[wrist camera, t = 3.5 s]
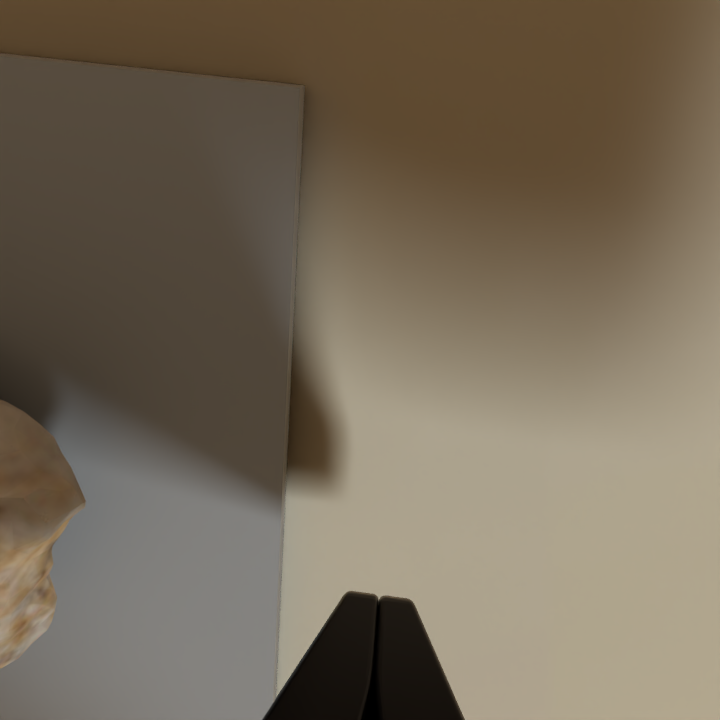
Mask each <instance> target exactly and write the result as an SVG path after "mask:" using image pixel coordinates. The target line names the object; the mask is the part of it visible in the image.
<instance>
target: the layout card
mask: <svg viewBox="0 0 720 720" xmlns="http://www.w3.org/2000/svg"><path fill="white" fill-rule="evenodd" d="M304 92H305V85H297V84H287V83H278V82H268V81H259V80H250V79H240V78H231V77H221V76H212V75H202V74H193V73H183V72H174V71H165V70H155V69H146V68H136V67H127V66H117V65H108V64H98V63H89V62H79V61H70V60H61V59H51V58H42V57H32V56H23V55H13V54H4V53H0V400H3V401H6V402H8V403H10V404H11V405H13V406H15V407H17V408H18V409H20V410H22V411H24V412H25V413H27V414H28V415H29V416H30V417H32V418H33V419H34V420H35V421H37V422H38V423H39V424H40V425H42V426H43V427H44V428H45V429H46V430H47V431H48V432H49V433H50V434H51V435H52V436H53V437H54V438H55V440H56V442H57V444H58V446H59V448H60V450H61V452H62V454H63V455H64V457H65V458H66V460H67V461H68V463H69V465H70V466H71V468H72V470H73V473H74V475H75V477H76V479H77V482H78V484H79V486H80V489H81V491H82V493H83V495H84V498H85V500H86V504H85V508H84V509H82V510H81V511H79V512H78V513H77V514H75V515H74V516H73V517H72V518H71V519H70V520H69V522H68V524H67V526H66V528H65V530H64V531H63V533H62V534H61V535H60V537H59V538H58V539H57V541H56V542H55V543H54V545H53V547H52V557H53V566H52V569H51V571H50V573H49V574H50V577H51V580H52V583H53V586H54V589H55V592H56V595H57V602H56V607H55V612H54V615H53V619H52V622H51V624H50V626H49V628H48V629H47V631H45V632H44V633H43V634H42V635H41V636H40V637H39V638H38V639H37V640H35V641H34V642H33V643H32V644H31V645H30V646H29V647H28V648H27V650H26V651H25V652H24V653H23V654H22V655H21V656H20V657H19V658H18V659H17V660H15V661H13V662H11V663H10V664H8V665H6V666H4V667H3V668H1V669H0V720H262V719H263V717H264V716H265V714H266V713H267V711H268V710H269V708H270V707H271V705H272V704H273V702H274V701H275V699H276V684H277V663H278V642H279V621H280V600H281V578H282V557H283V536H284V515H285V494H286V473H287V451H288V430H289V409H290V388H291V367H292V346H293V324H294V303H295V282H296V261H297V240H298V219H299V197H300V176H301V155H302V134H303V113H304Z"/></svg>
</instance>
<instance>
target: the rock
mask: <svg viewBox="0 0 720 720" xmlns="http://www.w3.org/2000/svg"><path fill="white" fill-rule="evenodd" d="M85 504H86V500H85V498H84V495H83V493H82V491H81V489H80V486H79V484H78V482H77V479H76V477H75V475H74V473H73V470H72V468H71V466H70V465H69V463H68V461H67V460H66V458H65V457H64V455H63V454H62V452H61V450H60V448H59V446H58V444H57V442H56V440H55V438H54V437H53V436H52V435H51V434H50V433H49V432H48V431H47V430H46V429H45V428H44V427H43V426H42V425H40V424H39V423H38V422H37V421H35V420H34V419H33V418H32V417H30V416H29V415H28V414H27V413H25V412H24V411H22V410H20V409H18V408H17V407H15V406H13V405H11V404H10V403H8V402H6V401H3V400H0V669H1V668H3V667H4V666H6V665H8V664H10V663H11V662H13V661H15V660H17V659H18V658H19V657H20V656H21V655H22V654H23V653H24V652H25V651H26V650H27V648H28V647H29V646H30V645H31V644H32V643H33V642H34V641H35V640H37V639H38V638H39V637H40V636H41V635H42V634H43V633H44V632H45V631H47V629H48V628H49V626H50V624H51V622H52V619H53V615H54V612H55V607H56V602H57V595H56V592H55V589H54V586H53V583H52V580H51V577H50V574H49V573H50V571H51V569H52V566H53V557H52V547H53V545H54V543H55V542H56V541H57V539H58V538H59V537H60V535H61V534H62V533H63V531H64V530H65V528H66V526H67V524H68V522H69V520H70V519H71V518H72V517H73V516H74V515H75V514H77V513H78V512H79V511H81V510H82V509H84V508H85Z"/></svg>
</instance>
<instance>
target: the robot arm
mask: <svg viewBox="0 0 720 720" xmlns="http://www.w3.org/2000/svg"><path fill="white" fill-rule="evenodd" d="M262 720H465V719H464V717H463V715H462V712H461V710H460V708H459V706H458V703H457V701H456V699H455V696H454V694H453V692H452V689H451V687H450V685H449V683H448V680H447V678H446V676H445V673H444V671H443V669H442V667H441V664H440V662H439V660H438V657H437V655H436V653H435V650H434V648H433V646H432V644H431V641H430V639H429V637H428V634H427V632H426V630H425V628H424V625H423V623H422V621H421V618H420V616H419V614H418V611H417V609H416V607H415V605H414V603H413V602H412V601H411V600H410V599H407V598H399V597H392V596H382V597H381V598H380V599H379V601H378V597H377V596H376V595H375V594H370V593H362V592H355V591H349V592H347V593H345V594H344V596H343V597H342V599H341V600H340V602H339V603H338V605H337V606H336V608H335V609H334V611H333V612H332V614H331V615H330V617H329V618H328V620H327V621H326V623H325V624H324V626H323V627H322V629H321V630H320V632H319V634H318V635H317V637H316V638H315V640H314V641H313V643H312V644H311V646H310V647H309V649H308V650H307V652H306V653H305V655H304V656H303V658H302V659H301V661H300V662H299V664H298V666H297V667H296V669H295V670H294V672H293V673H292V675H291V676H290V678H289V679H288V681H287V682H286V684H285V685H284V687H283V688H282V690H281V691H280V693H279V694H278V696H277V697H276V699H275V701H274V702H273V704H272V705H271V707H270V708H269V710H268V711H267V713H266V714H265V716H264V717H263V719H262Z"/></svg>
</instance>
